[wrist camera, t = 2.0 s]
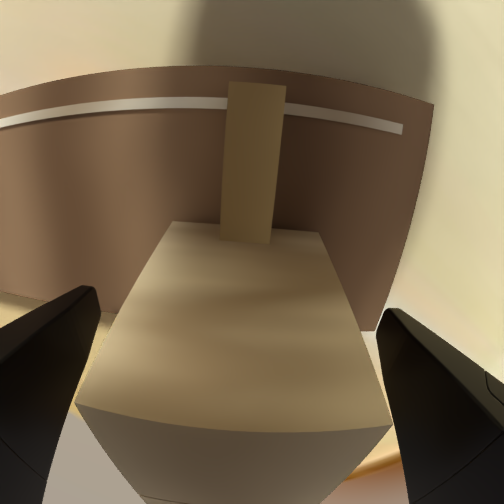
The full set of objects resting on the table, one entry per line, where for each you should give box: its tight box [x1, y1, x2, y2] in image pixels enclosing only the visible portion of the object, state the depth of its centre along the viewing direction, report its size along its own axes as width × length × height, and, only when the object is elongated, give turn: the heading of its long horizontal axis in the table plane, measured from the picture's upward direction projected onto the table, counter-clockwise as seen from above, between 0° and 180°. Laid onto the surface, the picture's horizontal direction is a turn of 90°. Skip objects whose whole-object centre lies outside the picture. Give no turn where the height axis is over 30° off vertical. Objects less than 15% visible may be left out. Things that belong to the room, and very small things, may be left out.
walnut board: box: [0, 66, 434, 331], centre depth 9 cm, size 20×8×3 cm, turn 85°
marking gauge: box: [74, 81, 393, 504], centre depth 7 cm, size 4×9×8 cm, turn 175°
